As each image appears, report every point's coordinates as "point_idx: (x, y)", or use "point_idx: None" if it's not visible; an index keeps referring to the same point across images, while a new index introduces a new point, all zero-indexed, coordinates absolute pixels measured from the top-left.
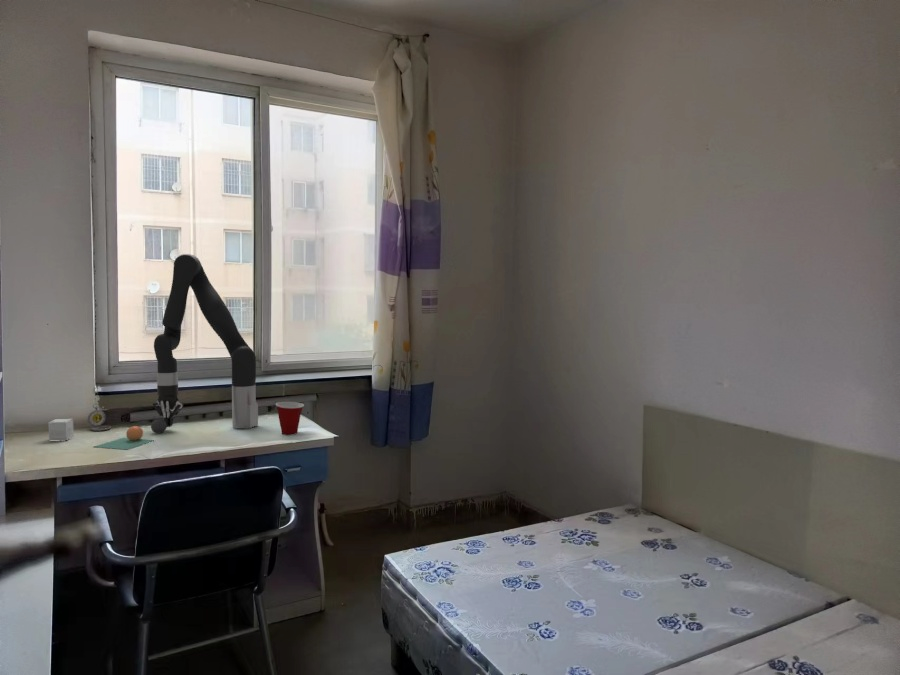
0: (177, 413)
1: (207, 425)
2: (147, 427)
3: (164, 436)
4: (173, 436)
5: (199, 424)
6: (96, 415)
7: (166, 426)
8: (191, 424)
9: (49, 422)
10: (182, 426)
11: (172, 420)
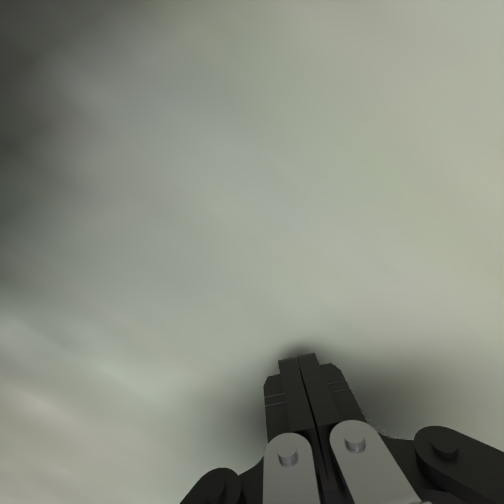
0: (499, 466)
1: (480, 4)
2: (32, 369)
3: None
4: None
5: (355, 11)
6: None
7: None
8: (274, 61)
9: None
10: (271, 185)
11: (355, 402)
